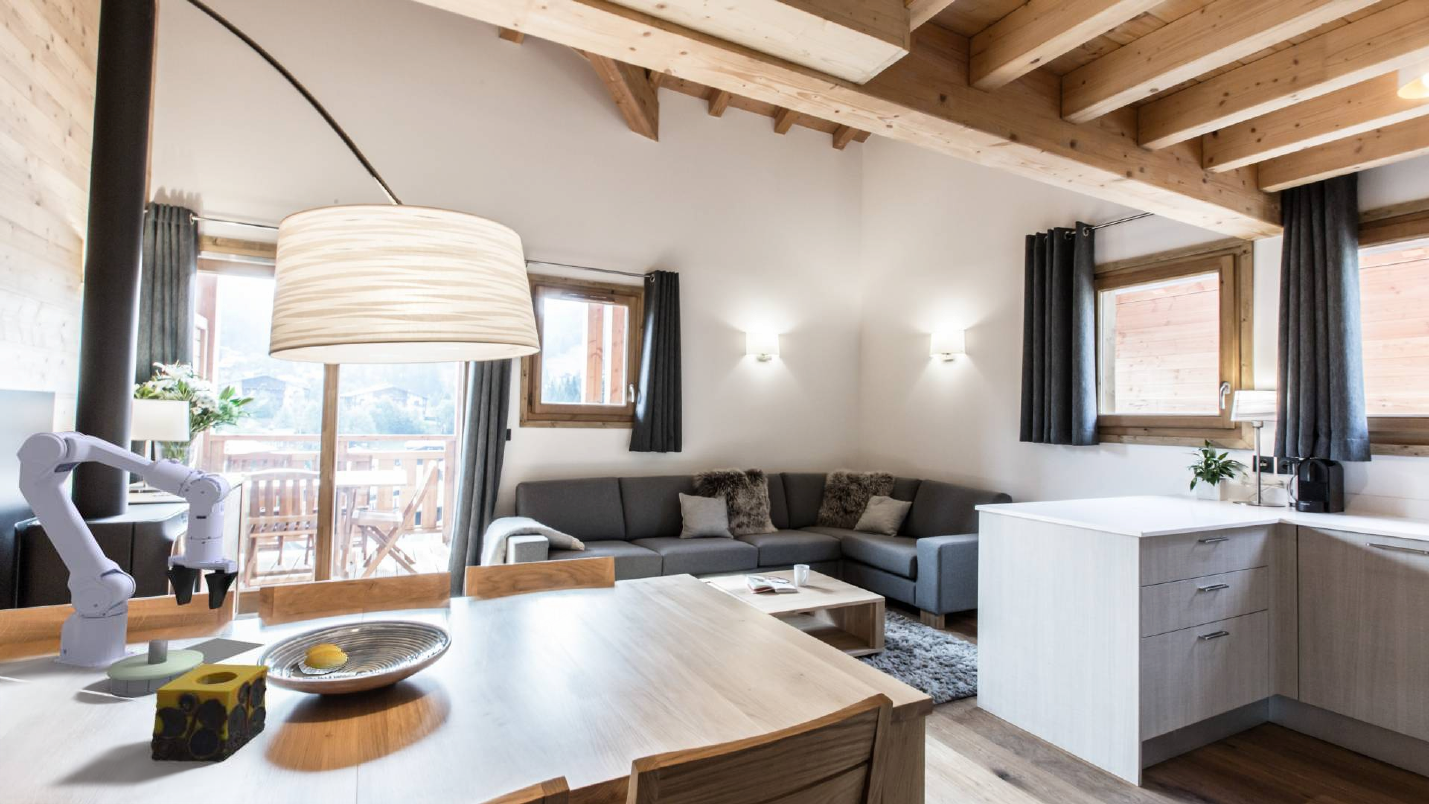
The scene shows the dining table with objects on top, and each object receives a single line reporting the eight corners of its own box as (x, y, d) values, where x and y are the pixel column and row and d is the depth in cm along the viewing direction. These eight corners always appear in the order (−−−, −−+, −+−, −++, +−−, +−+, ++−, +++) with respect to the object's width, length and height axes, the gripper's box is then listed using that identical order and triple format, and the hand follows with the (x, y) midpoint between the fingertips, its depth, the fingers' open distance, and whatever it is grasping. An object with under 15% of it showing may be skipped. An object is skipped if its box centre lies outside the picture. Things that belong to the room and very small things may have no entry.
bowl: (93, 692, 114) (94, 674, 114) (158, 670, 125) (160, 653, 125) (145, 701, 112) (147, 682, 112) (208, 677, 122) (209, 660, 123)
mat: (159, 658, 130) (159, 656, 130) (216, 639, 142) (216, 637, 142) (210, 666, 128) (210, 664, 128) (265, 646, 140) (265, 644, 140)
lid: (86, 675, 114) (88, 648, 114) (162, 650, 126) (164, 626, 127) (150, 684, 111) (152, 657, 111) (221, 658, 124) (223, 634, 124)
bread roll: (303, 680, 124) (304, 658, 124) (294, 665, 131) (295, 644, 131) (353, 671, 129) (354, 649, 130) (342, 657, 136) (343, 637, 136)
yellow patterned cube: (197, 729, 103) (202, 662, 104) (266, 729, 104) (271, 664, 105) (147, 762, 93) (152, 688, 94) (224, 763, 94) (229, 690, 94)
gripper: (253, 536, 137) (248, 604, 136) (194, 531, 140) (189, 597, 139) (221, 542, 130) (215, 614, 129) (159, 536, 133) (154, 606, 132)
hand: (199, 606), depth 134 cm, fingers open, 7 cm apart
